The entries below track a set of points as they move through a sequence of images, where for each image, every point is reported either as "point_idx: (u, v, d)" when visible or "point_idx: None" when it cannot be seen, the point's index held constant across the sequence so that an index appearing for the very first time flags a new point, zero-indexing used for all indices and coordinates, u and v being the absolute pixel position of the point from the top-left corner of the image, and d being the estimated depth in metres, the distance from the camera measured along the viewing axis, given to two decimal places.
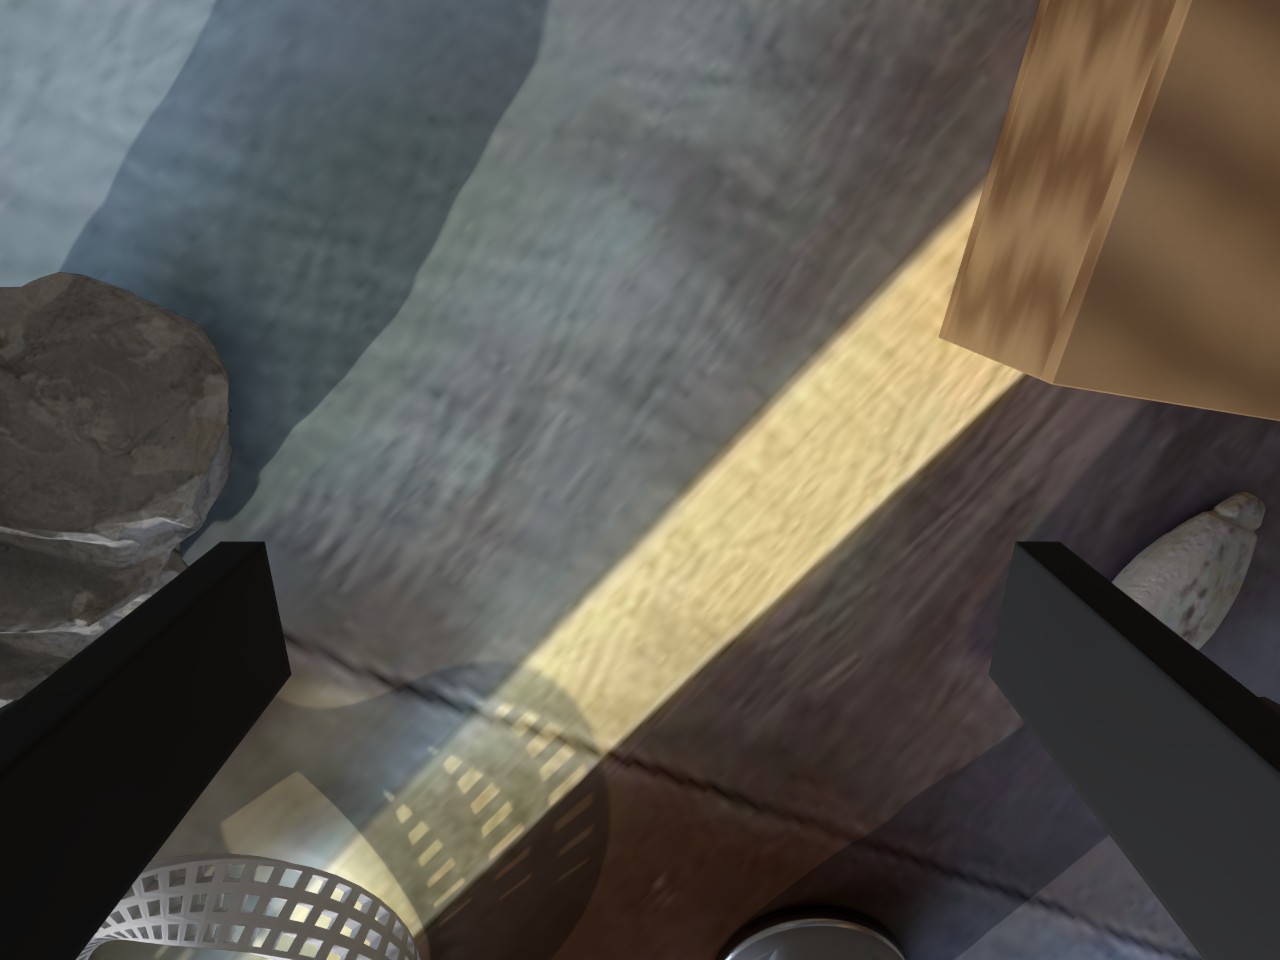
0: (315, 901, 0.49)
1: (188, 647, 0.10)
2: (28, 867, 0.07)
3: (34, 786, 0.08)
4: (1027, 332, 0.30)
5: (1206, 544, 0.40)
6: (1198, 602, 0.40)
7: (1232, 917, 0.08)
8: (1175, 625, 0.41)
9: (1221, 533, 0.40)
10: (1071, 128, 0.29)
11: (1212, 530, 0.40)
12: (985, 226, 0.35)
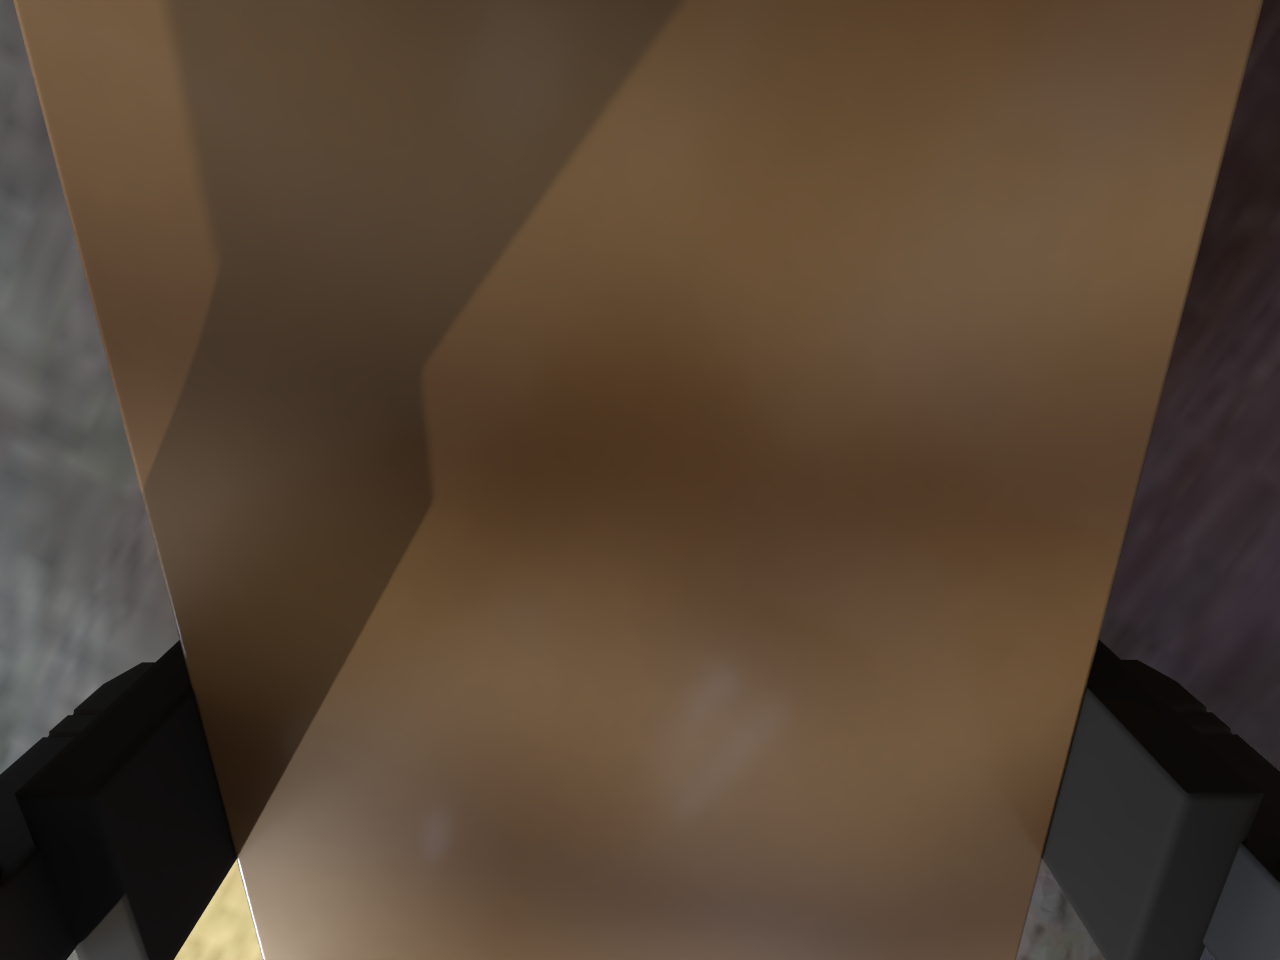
0: None
1: None
2: (182, 806, 0.08)
3: (185, 734, 0.08)
4: None
5: (1033, 894, 0.21)
6: None
7: (1085, 854, 0.09)
8: None
9: None
10: None
11: (1041, 865, 0.21)
12: None
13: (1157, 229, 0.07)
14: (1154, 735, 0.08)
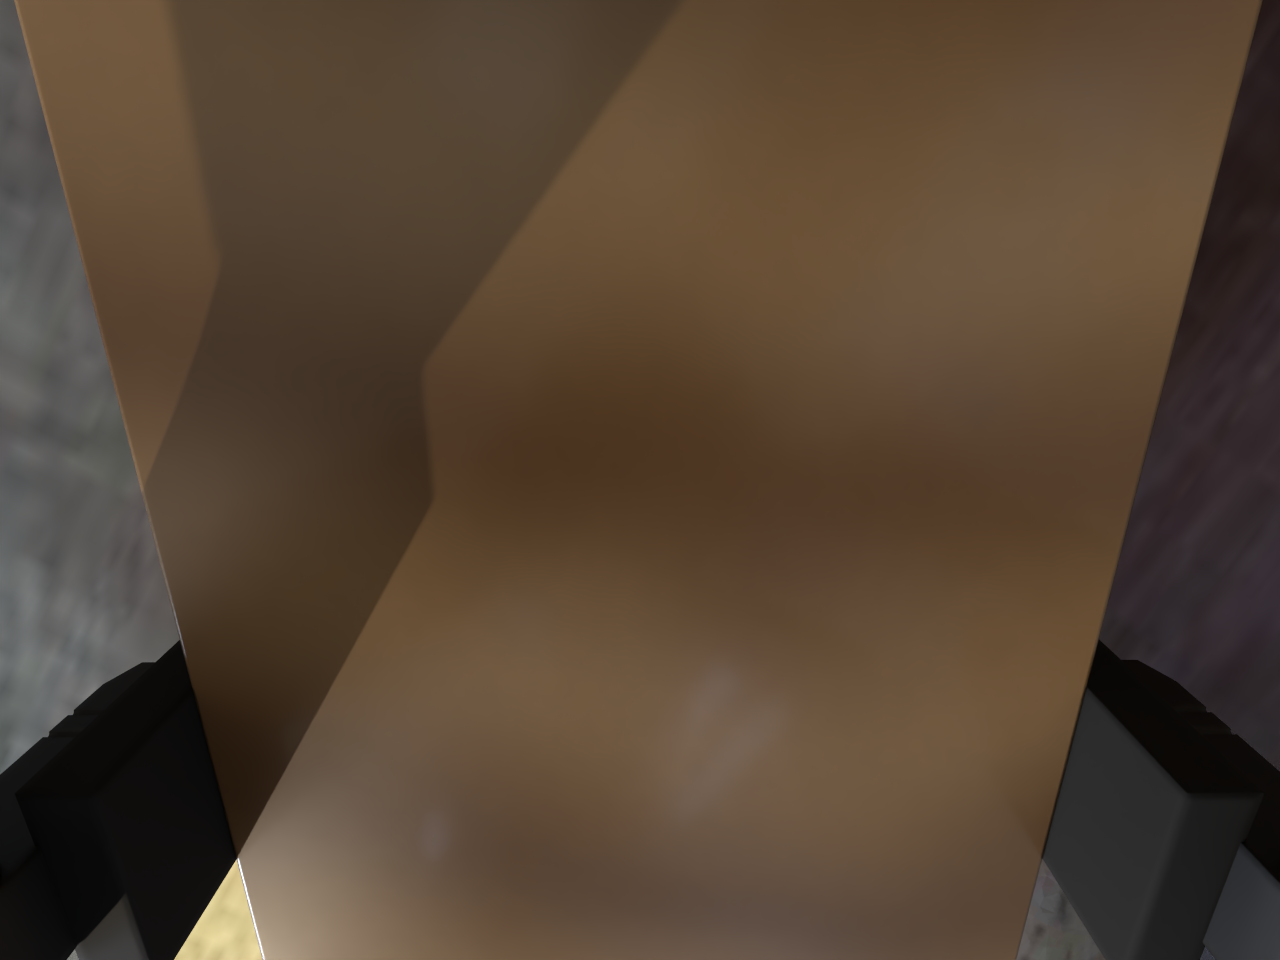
0: None
1: None
2: (182, 806, 0.08)
3: (185, 734, 0.08)
4: None
5: (1033, 894, 0.21)
6: None
7: (1084, 853, 0.09)
8: None
9: None
10: None
11: (1041, 866, 0.21)
12: None
13: (1156, 229, 0.07)
14: (1154, 735, 0.08)
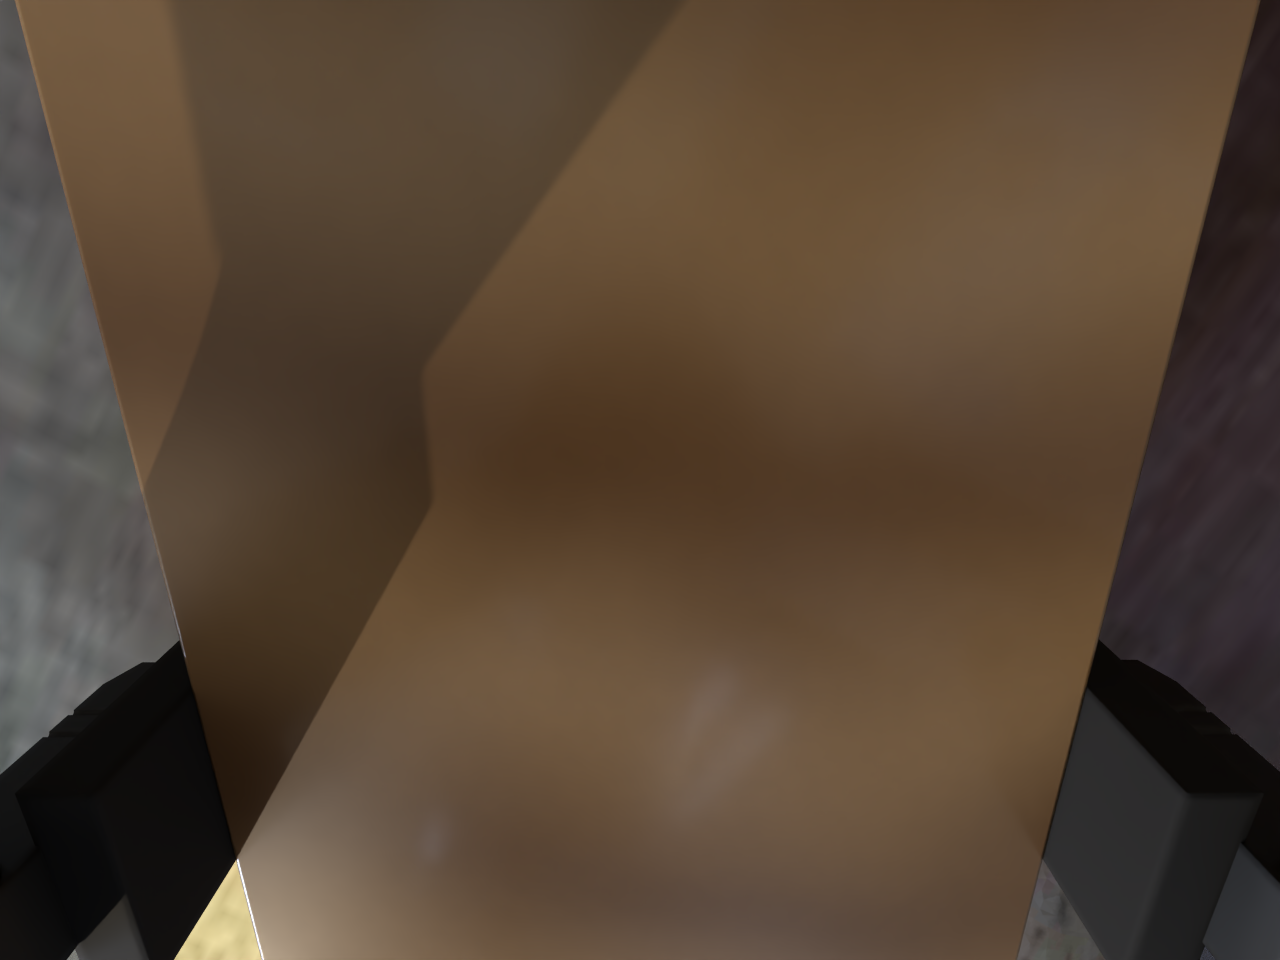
0: None
1: None
2: (182, 806, 0.08)
3: (185, 733, 0.08)
4: None
5: None
6: None
7: (1085, 853, 0.09)
8: None
9: None
10: None
11: (1042, 868, 0.21)
12: None
13: (1155, 227, 0.07)
14: (1154, 735, 0.08)
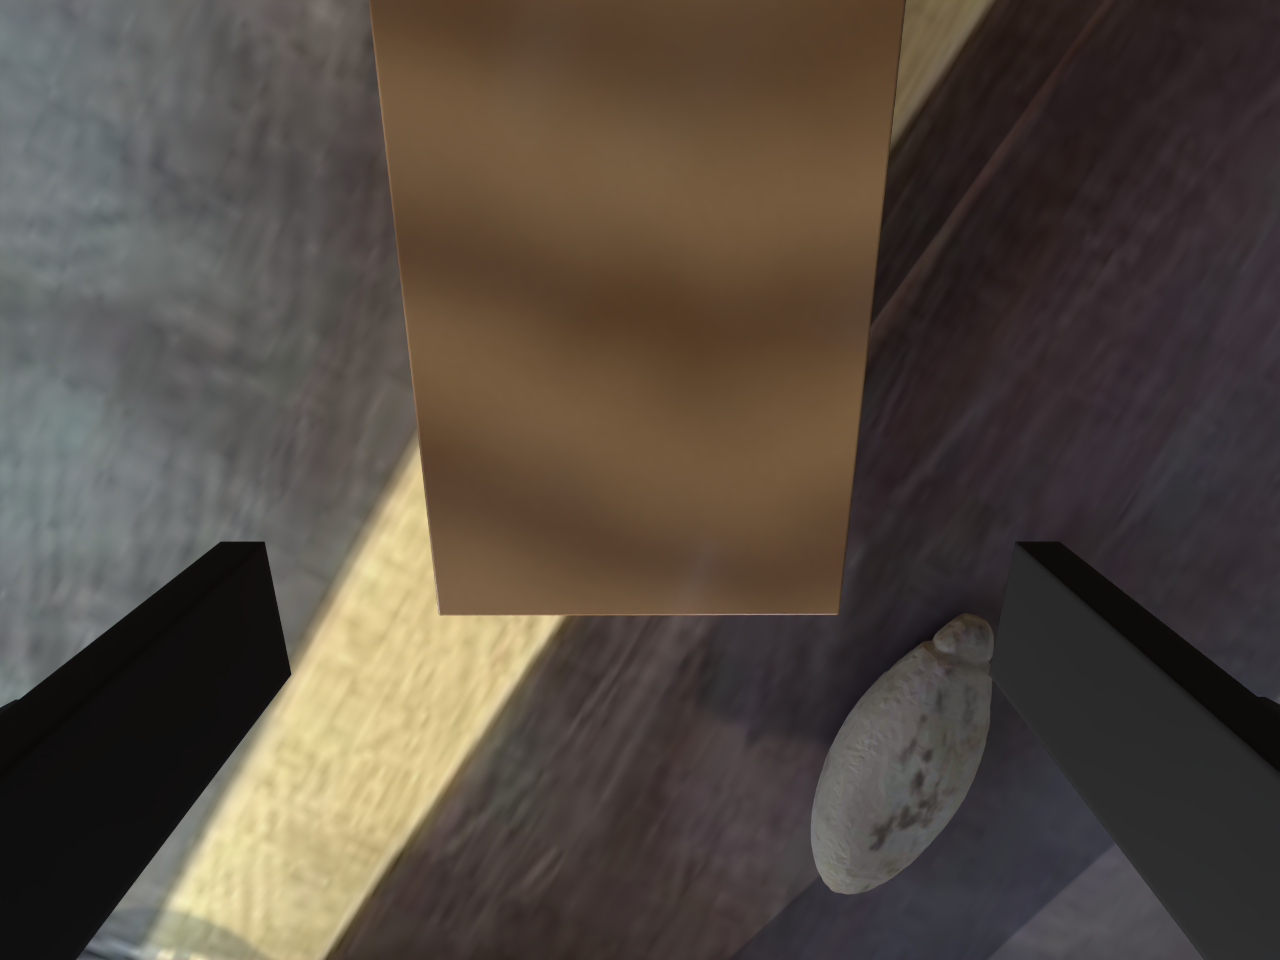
0: None
1: (189, 647, 0.10)
2: (28, 867, 0.07)
3: (34, 786, 0.08)
4: None
5: (919, 693, 0.30)
6: (925, 766, 0.30)
7: (1232, 917, 0.08)
8: (905, 796, 0.31)
9: (936, 677, 0.30)
10: None
11: (925, 673, 0.30)
12: None
13: (863, 199, 0.15)
14: None
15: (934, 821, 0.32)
